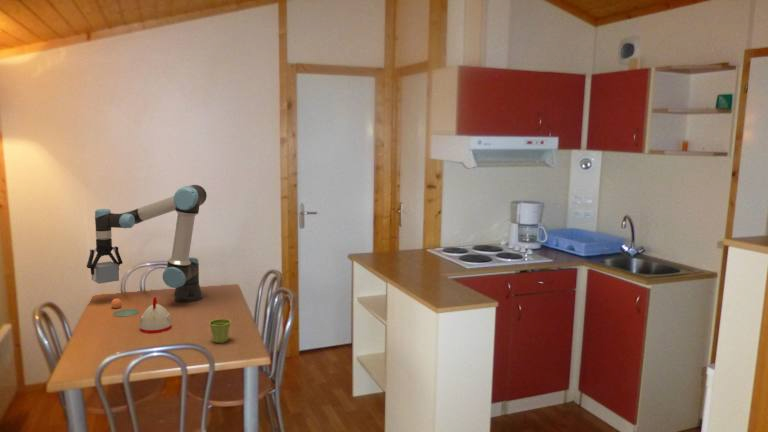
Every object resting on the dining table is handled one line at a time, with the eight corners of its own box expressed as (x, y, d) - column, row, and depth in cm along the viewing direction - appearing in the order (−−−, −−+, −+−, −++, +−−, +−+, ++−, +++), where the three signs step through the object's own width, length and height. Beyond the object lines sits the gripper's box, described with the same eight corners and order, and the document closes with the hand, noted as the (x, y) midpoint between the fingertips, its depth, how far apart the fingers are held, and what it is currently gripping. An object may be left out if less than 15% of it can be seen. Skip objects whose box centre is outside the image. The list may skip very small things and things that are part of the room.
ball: (124, 306, 301) (123, 297, 300) (117, 309, 296) (117, 300, 296) (115, 306, 302) (115, 296, 302) (109, 308, 297) (108, 299, 297)
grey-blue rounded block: (119, 280, 307) (118, 264, 305) (99, 283, 299) (98, 267, 298) (111, 277, 314) (110, 261, 312) (91, 280, 306) (91, 263, 305)
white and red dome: (137, 334, 260) (136, 302, 258) (142, 325, 274) (140, 294, 272) (170, 332, 264) (169, 301, 262) (172, 323, 277) (171, 293, 275)
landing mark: (144, 310, 295) (144, 310, 295) (128, 317, 284) (128, 317, 284) (123, 308, 298) (123, 308, 298) (107, 315, 287) (107, 315, 287)
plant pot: (205, 340, 255) (205, 321, 253) (224, 335, 261) (224, 317, 260) (215, 346, 248) (215, 326, 247) (235, 341, 254) (234, 322, 253)
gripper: (122, 235, 314) (124, 274, 317) (78, 239, 298) (80, 281, 301) (128, 236, 309) (129, 276, 312) (83, 241, 293) (85, 283, 296)
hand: (105, 278), depth 306 cm, fingers closed on grey-blue rounded block, 10 cm apart
